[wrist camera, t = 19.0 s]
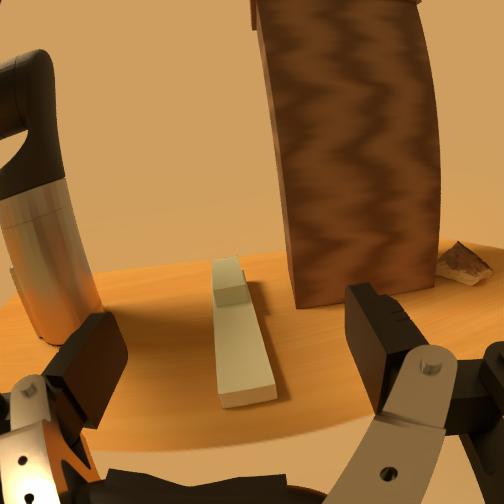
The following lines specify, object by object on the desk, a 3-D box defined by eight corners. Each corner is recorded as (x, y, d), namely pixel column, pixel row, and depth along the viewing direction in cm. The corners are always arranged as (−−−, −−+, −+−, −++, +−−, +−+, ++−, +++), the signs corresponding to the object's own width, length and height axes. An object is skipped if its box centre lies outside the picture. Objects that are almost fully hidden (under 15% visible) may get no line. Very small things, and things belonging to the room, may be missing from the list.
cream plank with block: (223, 411, 20) (212, 374, 19) (214, 289, 39) (208, 260, 38) (278, 401, 21) (272, 363, 19) (245, 284, 39) (240, 254, 38)
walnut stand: (291, 312, 31) (248, -14, 20) (284, 267, 41) (251, 23, 30) (439, 288, 30) (419, -7, 19) (402, 252, 40) (382, 22, 29)
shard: (456, 250, 39) (458, 238, 38) (500, 262, 33) (502, 250, 32) (429, 276, 34) (431, 263, 33) (483, 294, 28) (486, 279, 27)
